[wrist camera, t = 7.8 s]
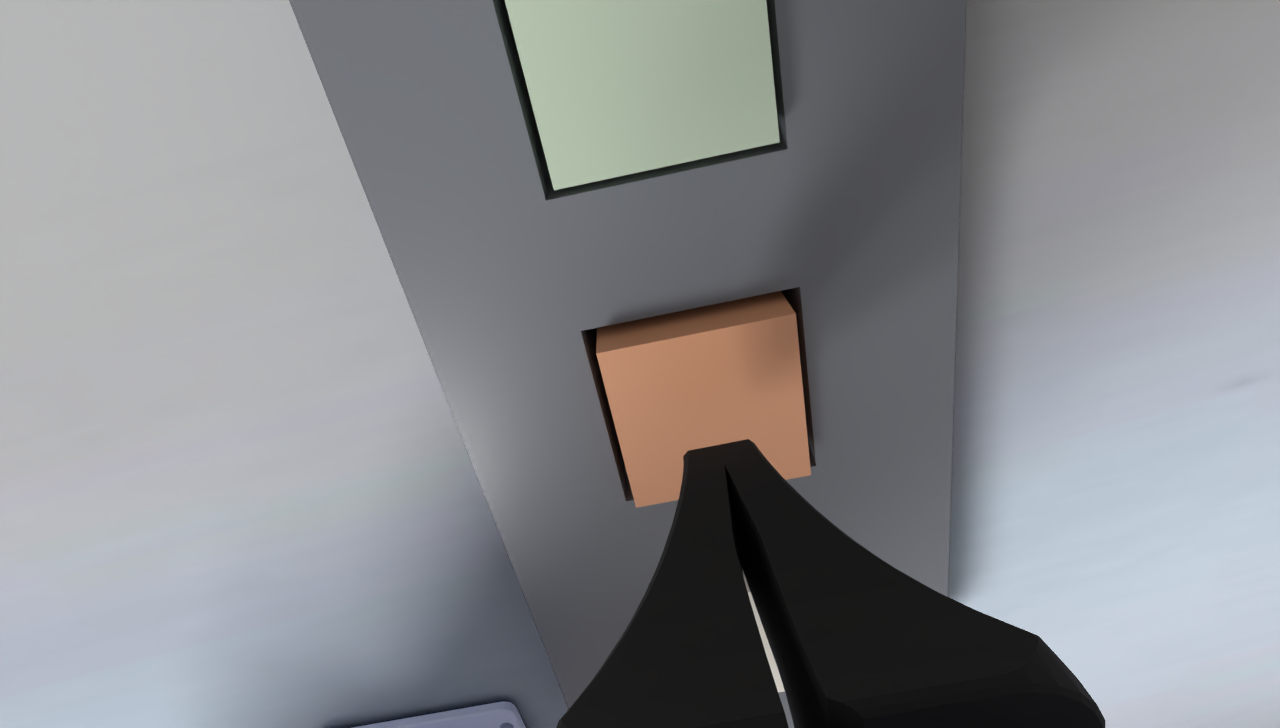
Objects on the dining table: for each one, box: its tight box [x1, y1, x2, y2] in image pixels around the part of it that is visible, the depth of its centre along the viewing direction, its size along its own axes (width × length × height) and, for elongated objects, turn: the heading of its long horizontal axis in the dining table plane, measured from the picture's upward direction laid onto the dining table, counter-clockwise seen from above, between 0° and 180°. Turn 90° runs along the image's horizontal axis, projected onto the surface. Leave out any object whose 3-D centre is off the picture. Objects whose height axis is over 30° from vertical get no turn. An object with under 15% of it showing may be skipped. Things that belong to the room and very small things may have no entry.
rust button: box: [596, 291, 811, 508], centre depth 16 cm, size 4×4×3 cm
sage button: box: [505, 0, 780, 190], centre depth 13 cm, size 4×4×3 cm
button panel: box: [289, 0, 966, 728], centre depth 17 cm, size 28×12×3 cm, turn 11°
